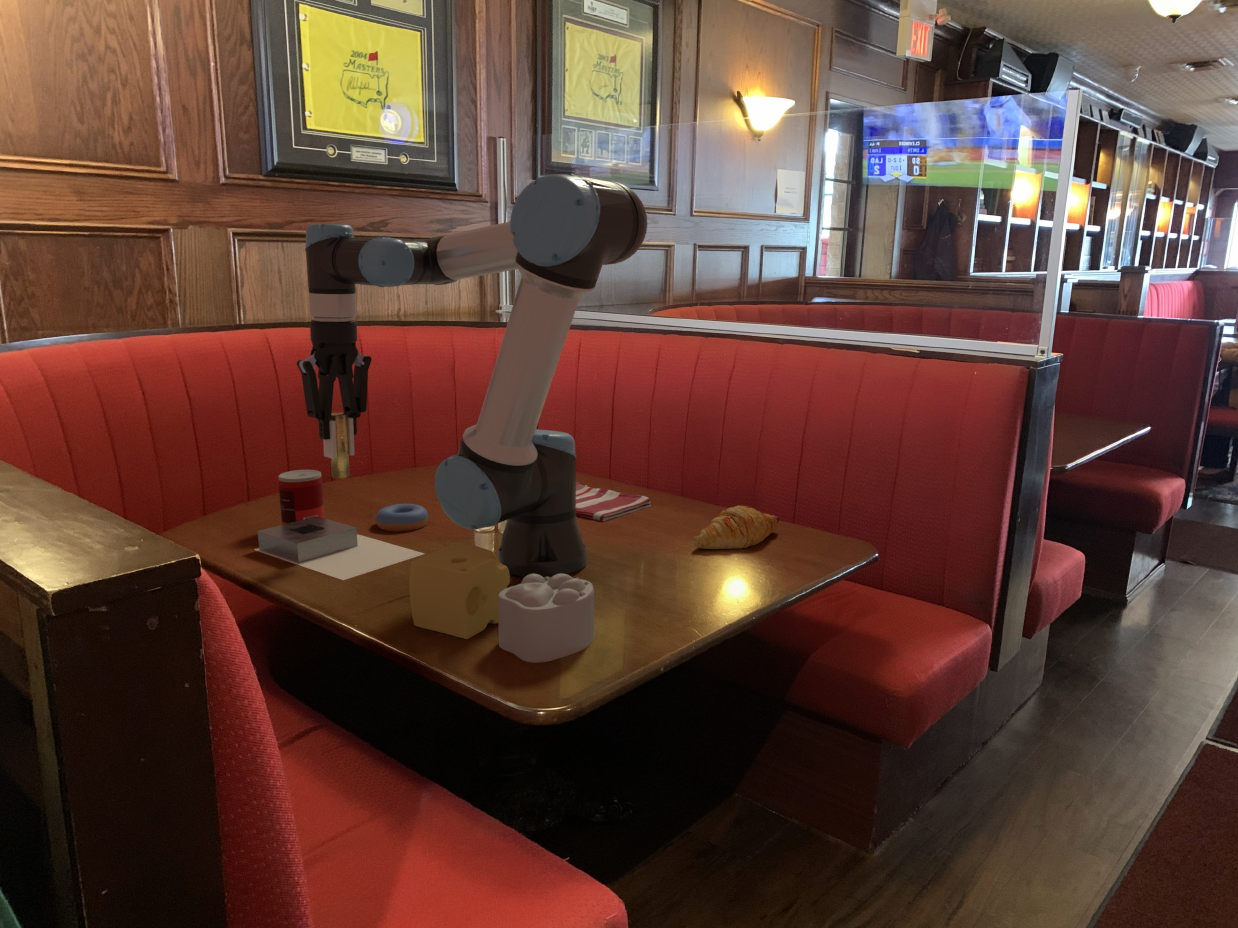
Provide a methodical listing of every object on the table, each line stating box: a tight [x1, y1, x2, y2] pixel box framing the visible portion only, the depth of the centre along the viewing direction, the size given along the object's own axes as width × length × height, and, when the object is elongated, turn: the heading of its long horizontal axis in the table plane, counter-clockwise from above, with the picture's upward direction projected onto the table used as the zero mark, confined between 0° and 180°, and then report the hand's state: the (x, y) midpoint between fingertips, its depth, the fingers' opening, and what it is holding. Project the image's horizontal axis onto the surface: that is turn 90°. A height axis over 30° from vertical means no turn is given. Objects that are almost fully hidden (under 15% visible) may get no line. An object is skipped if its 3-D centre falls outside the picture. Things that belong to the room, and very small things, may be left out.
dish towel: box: [576, 480, 652, 522], centre depth 191 cm, size 17×23×3 cm
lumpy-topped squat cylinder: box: [497, 574, 595, 663], centre depth 120 cm, size 10×13×9 cm
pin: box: [330, 412, 350, 479], centre depth 155 cm, size 3×3×11 cm
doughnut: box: [375, 503, 429, 532], centre depth 174 cm, size 10×10×5 cm
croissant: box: [692, 505, 780, 550], centre depth 165 cm, size 21×10×8 cm, turn 129°
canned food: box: [277, 469, 325, 525], centre depth 171 cm, size 8×8×11 cm
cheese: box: [408, 541, 511, 640], centre depth 127 cm, size 10×11×10 cm
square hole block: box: [257, 516, 358, 563], centre depth 159 cm, size 12×12×4 cm
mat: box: [253, 533, 425, 581], centre depth 158 cm, size 26×17×1 cm, turn 53°
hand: (339, 455), depth 155 cm, fingers closed on pin, 3 cm apart
